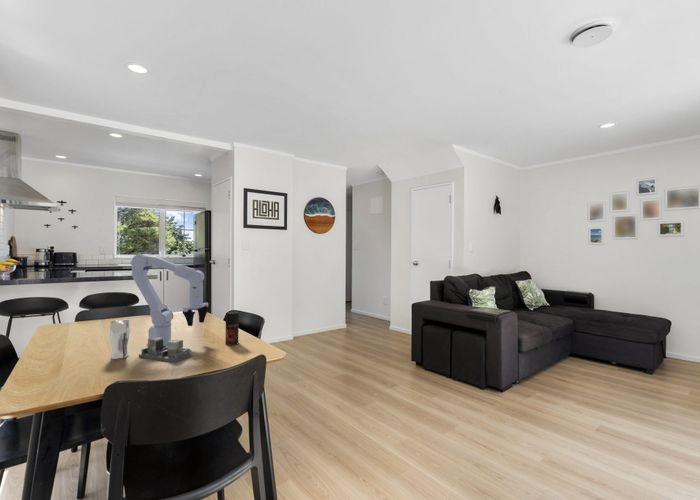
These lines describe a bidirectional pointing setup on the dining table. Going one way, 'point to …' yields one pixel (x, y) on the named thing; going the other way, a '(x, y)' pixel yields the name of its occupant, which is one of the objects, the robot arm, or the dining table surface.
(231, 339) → the deodorant
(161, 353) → the grey slotted rack
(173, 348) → the sage green rectangular prism
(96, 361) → the dining table surface
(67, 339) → the dining table surface
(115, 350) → the beer glass
